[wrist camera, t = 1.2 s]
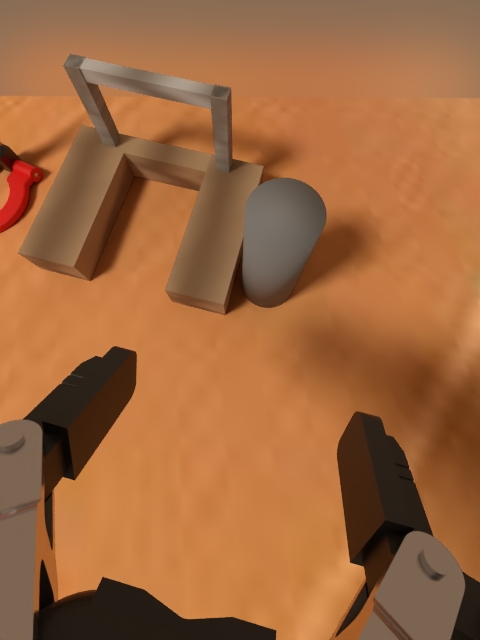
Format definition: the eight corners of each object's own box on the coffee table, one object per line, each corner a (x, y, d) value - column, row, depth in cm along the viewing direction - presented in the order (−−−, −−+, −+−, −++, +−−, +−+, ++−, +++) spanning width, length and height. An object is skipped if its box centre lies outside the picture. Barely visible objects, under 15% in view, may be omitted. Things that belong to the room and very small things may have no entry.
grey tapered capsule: (297, 266, 29) (332, 187, 18) (287, 313, 28) (318, 257, 17) (248, 254, 29) (255, 170, 19) (235, 300, 28) (235, 238, 17)
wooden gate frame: (261, 187, 31) (272, 91, 22) (225, 315, 28) (218, 268, 18) (95, 150, 32) (35, 42, 23) (40, 268, 29) (-60, 199, 19)
